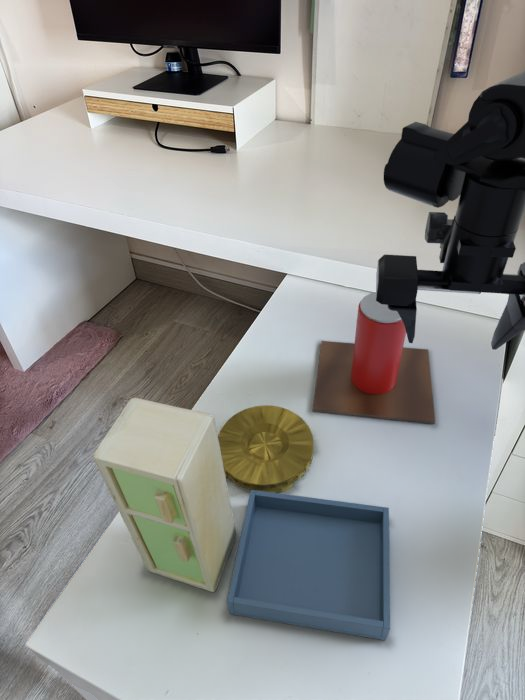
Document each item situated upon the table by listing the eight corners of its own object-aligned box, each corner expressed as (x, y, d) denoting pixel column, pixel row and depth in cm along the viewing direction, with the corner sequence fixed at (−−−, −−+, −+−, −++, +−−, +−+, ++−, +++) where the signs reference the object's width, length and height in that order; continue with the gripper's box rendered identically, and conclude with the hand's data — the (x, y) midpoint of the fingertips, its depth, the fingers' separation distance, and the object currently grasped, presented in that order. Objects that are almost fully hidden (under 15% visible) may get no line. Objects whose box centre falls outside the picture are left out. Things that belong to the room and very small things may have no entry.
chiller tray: (385, 521, 56) (388, 507, 54) (386, 640, 48) (390, 629, 46) (252, 504, 59) (250, 489, 57) (229, 614, 50) (226, 601, 48)
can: (406, 382, 71) (421, 310, 62) (370, 401, 69) (381, 328, 60) (376, 356, 75) (387, 285, 66) (341, 372, 73) (348, 301, 64)
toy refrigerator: (142, 578, 53) (85, 462, 39) (172, 516, 58) (132, 394, 44) (212, 602, 51) (179, 489, 37) (237, 535, 56) (217, 413, 42)
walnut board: (427, 351, 76) (428, 349, 76) (434, 424, 66) (435, 421, 66) (321, 343, 79) (321, 340, 78) (312, 411, 69) (312, 409, 68)
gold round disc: (200, 470, 62) (197, 460, 61) (247, 404, 70) (246, 394, 68) (287, 510, 58) (287, 500, 56) (327, 435, 65) (328, 424, 64)
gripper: (569, 187, 52) (523, 306, 63) (385, 181, 55) (370, 296, 65) (604, 243, 44) (543, 369, 55) (385, 233, 47) (368, 355, 57)
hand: (451, 343), depth 58 cm, fingers open, 9 cm apart
